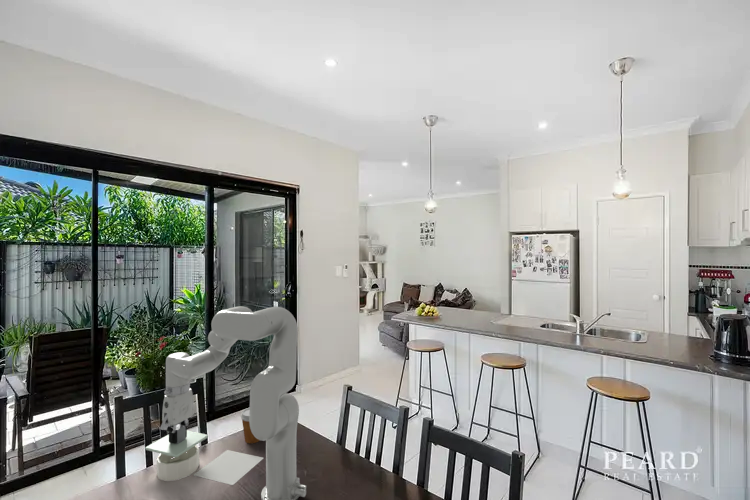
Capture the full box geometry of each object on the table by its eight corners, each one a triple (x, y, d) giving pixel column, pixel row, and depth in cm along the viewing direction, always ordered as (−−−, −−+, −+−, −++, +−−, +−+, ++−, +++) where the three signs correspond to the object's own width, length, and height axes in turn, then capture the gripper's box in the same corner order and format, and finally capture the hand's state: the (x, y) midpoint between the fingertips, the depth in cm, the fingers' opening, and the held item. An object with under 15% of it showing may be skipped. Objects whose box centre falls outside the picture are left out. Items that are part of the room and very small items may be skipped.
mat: (263, 458, 140) (263, 457, 140) (232, 486, 124) (232, 485, 124) (227, 450, 145) (227, 449, 145) (192, 476, 129) (192, 475, 129)
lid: (208, 437, 137) (208, 421, 137) (176, 457, 124) (176, 440, 124) (178, 430, 142) (178, 415, 142) (145, 449, 128) (145, 433, 128)
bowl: (206, 463, 137) (206, 447, 137) (177, 485, 124) (177, 467, 124) (179, 457, 141) (179, 441, 141) (148, 477, 129) (148, 460, 129)
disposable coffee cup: (235, 444, 150) (235, 414, 150) (250, 433, 159) (250, 405, 159) (255, 448, 147) (255, 418, 147) (269, 436, 156) (269, 408, 156)
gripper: (165, 399, 123) (166, 454, 124) (203, 381, 139) (203, 430, 139) (149, 395, 126) (149, 449, 126) (188, 379, 142) (188, 427, 142)
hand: (177, 439), depth 133 cm, fingers closed on lid, 3 cm apart
